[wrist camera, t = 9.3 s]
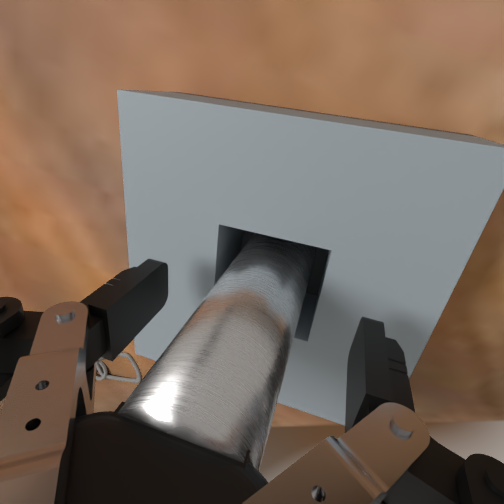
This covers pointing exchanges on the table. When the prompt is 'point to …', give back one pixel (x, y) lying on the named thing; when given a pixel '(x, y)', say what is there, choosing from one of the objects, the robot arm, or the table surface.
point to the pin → (230, 354)
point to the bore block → (304, 219)
